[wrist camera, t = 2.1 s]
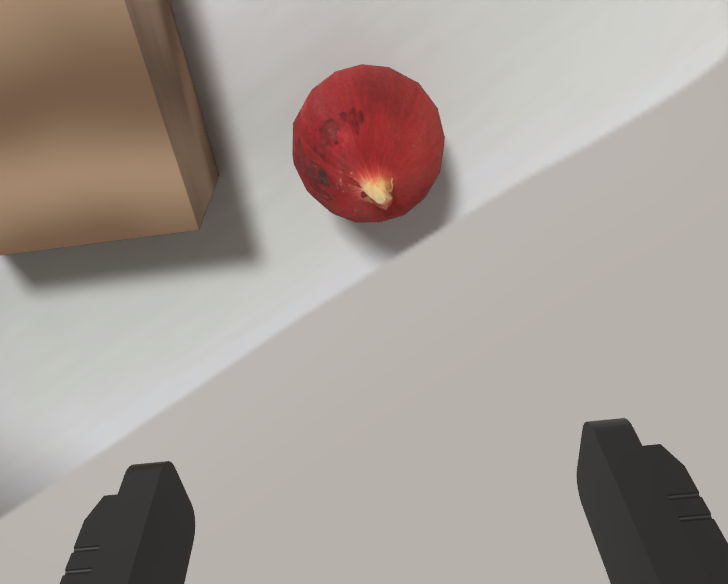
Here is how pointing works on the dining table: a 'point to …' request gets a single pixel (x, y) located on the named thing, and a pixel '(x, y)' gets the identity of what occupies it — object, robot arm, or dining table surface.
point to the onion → (368, 143)
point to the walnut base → (97, 125)
